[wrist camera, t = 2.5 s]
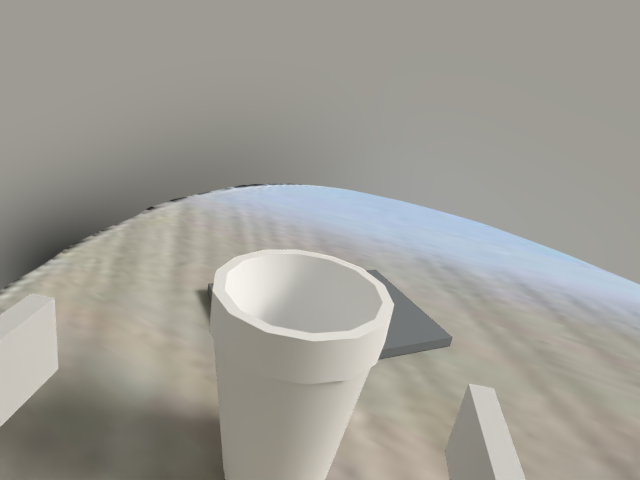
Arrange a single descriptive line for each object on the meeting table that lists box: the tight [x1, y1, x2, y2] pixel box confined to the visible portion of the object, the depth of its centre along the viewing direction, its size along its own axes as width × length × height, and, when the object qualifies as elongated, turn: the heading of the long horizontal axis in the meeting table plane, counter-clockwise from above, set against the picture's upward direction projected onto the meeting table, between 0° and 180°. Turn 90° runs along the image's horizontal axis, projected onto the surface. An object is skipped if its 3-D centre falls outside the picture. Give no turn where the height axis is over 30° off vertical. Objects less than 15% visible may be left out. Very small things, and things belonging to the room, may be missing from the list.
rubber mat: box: [208, 270, 452, 359], centre depth 47 cm, size 20×14×1 cm
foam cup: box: [209, 250, 394, 480], centre depth 27 cm, size 10×9×13 cm
